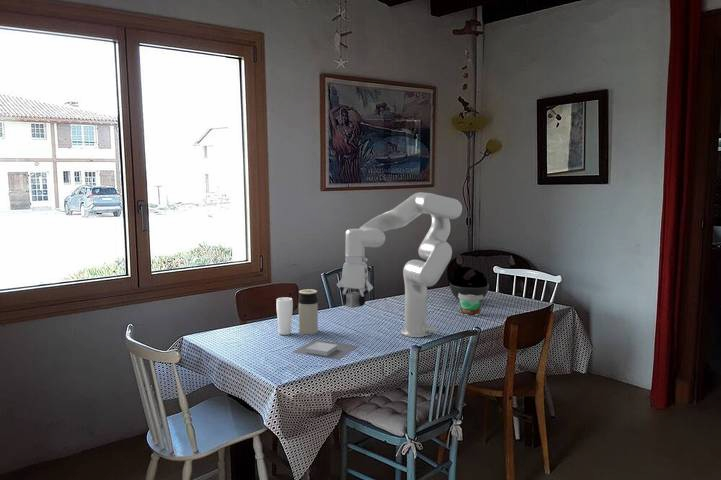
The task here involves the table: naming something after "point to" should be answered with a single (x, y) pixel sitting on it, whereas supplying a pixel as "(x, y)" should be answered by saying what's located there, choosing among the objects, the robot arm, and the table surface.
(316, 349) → the tile
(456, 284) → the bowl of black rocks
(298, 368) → the table surface
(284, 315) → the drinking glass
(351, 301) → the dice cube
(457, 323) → the table surface
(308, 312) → the travel mug
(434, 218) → the robot arm
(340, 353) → the mat
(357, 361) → the table surface
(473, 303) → the food container
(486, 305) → the table surface
